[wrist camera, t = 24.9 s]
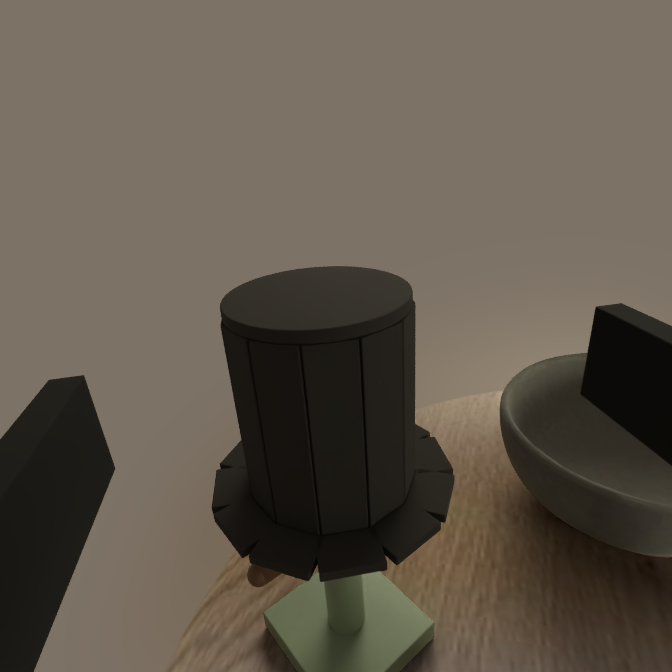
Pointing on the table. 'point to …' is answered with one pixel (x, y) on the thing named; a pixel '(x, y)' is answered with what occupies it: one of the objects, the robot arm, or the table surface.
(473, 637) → the table surface
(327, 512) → the hat
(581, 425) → the bowl
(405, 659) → the hat stand
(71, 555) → the robot arm
